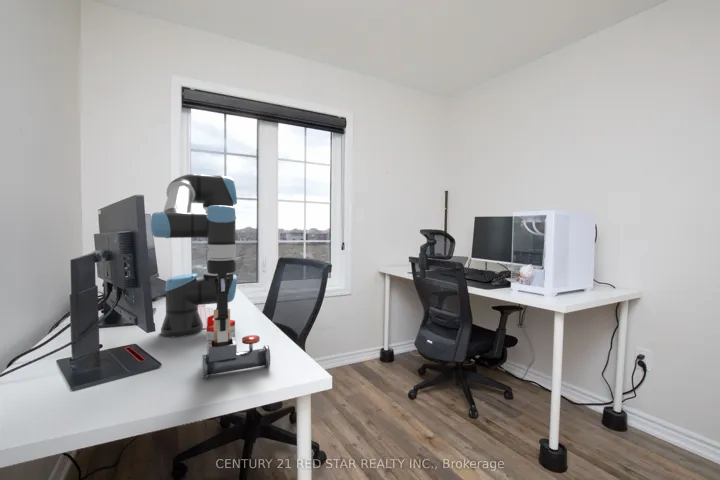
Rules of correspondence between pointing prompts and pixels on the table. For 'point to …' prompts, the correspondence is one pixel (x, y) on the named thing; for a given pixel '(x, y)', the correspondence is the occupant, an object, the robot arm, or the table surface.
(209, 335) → the ink box
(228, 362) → the valve body
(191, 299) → the robot arm
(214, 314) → the pipe stub
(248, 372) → the table surface
